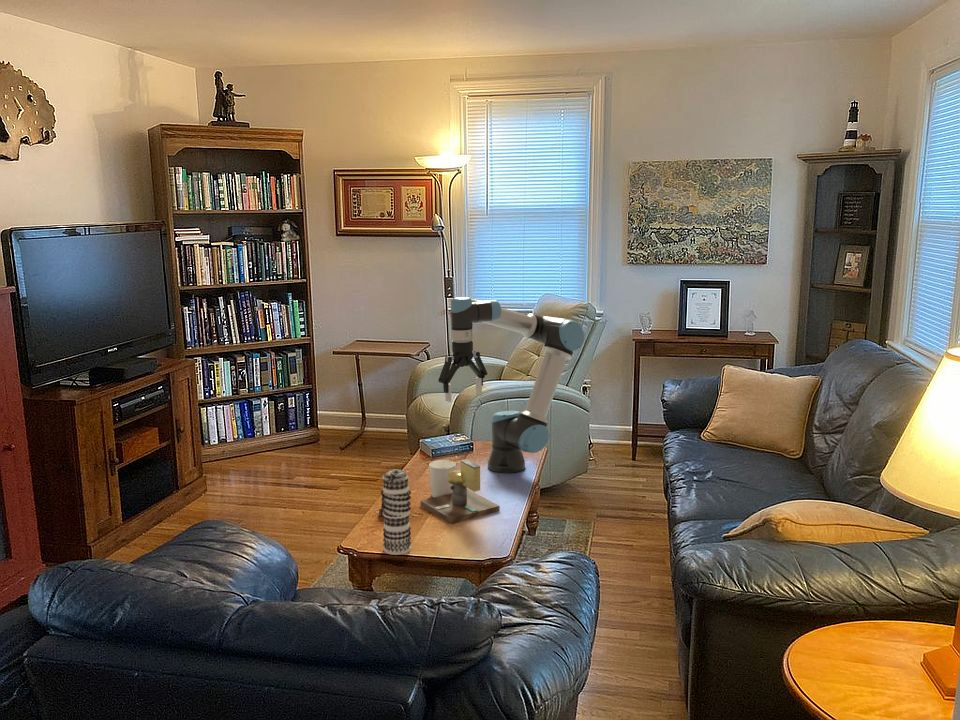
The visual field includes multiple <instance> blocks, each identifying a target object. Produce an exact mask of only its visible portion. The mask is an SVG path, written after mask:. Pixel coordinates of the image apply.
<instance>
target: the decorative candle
mask: <svg viewBox="0 0 960 720" xmlns="http://www.w3.org/2000/svg"><path fill="white" fill-rule="evenodd" d="M409 477H410V475H409V474H408V473H406V472H405V470H403V469H397V468H396V469H395V468H394V469H389V470H387V471H386V472H385V473H384V474H383V475H381V478H382V479H383V480H382V483H383V485H382V489H381V491H380V495H381V506H382V507H383V508H382V509H383V510H382V512H383V516H384V517H383V516H382V517H383V518H384V519H383V520H384V522H383V529H382V532H383V534H382V536H383V539H382V541H383V544H382V545H383V552H385V554H388V555H393V556H394V555H395V556H397V555H399V556H400V555H405V554H407V553H409V552H410V551H411V550H412V547H411V544H412V542H411V540H412V537H411V533H412V532H411V525H410V516H409V515H410V514H411V507H410V506H411V504H412V503H411V501H409V500H411V498H412V496H411V494H412V491H411V490H410V487H409Z"/></svg>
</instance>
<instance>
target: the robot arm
mask: <svg viewBox="0 0 960 720" xmlns="http://www.w3.org/2000/svg"><path fill="white" fill-rule="evenodd" d="M450 318H451V319H450V323H451V340H452V342H451V351H452V355H450V356H449V355H445V356H444V362H443V367H442V368H441V371H440V375H439V377H438V381H437V382H438V383H440V384H442V385H443V387H442V388H443V393H444V395H445V396H444V397H445V399H444V400H445V402H448V403H452V384H451V383H450V382H451V381H452V379H453V377H454V375H455V374H456V372H457V371H458V370H459V369H460V368H463V367H469V368H470V369H471V371H472V372H473V373H474V374H475V375H476V376H477V377H475V395H476V396H479V397H482V396H483V389H482V388H483V387H484V379H485V377H486V376H488V371H487V369H486V367H485V364H484V363H483V360H482V358H481V352H479V351H475V350H474V341H472V340H473V338H474V336H473V324H477V323H483V324H486V325H491V326H493V327H497V328H500V329H501V328H502V329H505V330H508V331H512V332H515V333H520V334H521V335H522V336H523V337H525V338H527V339H531V340H533V341H535V342H538V343H540V344H543V349H544V351H545V353H544V356H543V359H542V361H541V362H542V363H541V364H540V368H539V371H538V373H537V376H536V378H535V381H534V385H533V387H532V390H531V393H530V396H529V398H528V400H527V404H526V406H525V409H524V410H523V411H519V410H504V411H497V412H494V413H493V414H492V417H491V418H492V419H491V451H490V454H489V458H488V461H487V468H488V469H489V470H490V471H493V472H496V473H504V474H509V473H510V474H512V473H518V472H521V471H524V470H525V468H526V460H525V456H524V454H523V452H525V453H528V454H537V453H539V452H540V451H542V450H543V449H545V447H546V446H547V444H548V443H549V439H550V434H549V430H548V428H547V427H548V424H549V422H548V420H547V415H548V412H549V410H550V408H551V404H552V401H553V400H554V399H553V398H554V396H555V393H556V390H557V387H558V384H559V382H560V379H561V376H562V373H563V371H564V367H565V365H566V362H567V360H568V359H570V358H572V356H573V354H574V352H576V351H578V350H579V349H581V348H582V346H583V344H584V342H585V332H584V328H583V327H582V324H580V323H579V322H578V321H576V320H573V319H570V318H563V317H562V318H561V317H557V316H556V317H555V316H551V315H549V316H548V315H539V314H534V313H526V314H525V313H521V312H518V311H514V310H511V309H508V308H504V307H501V304H500V302H499V301H498V300H496V299H487V300H483V299H482V300H481V299H478V298H477V299H475V298H471V297H467V296H457V297H453V298H451V301H450ZM473 360H474V361H475V362H474V361H473ZM475 363H476V364H475Z"/></svg>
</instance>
